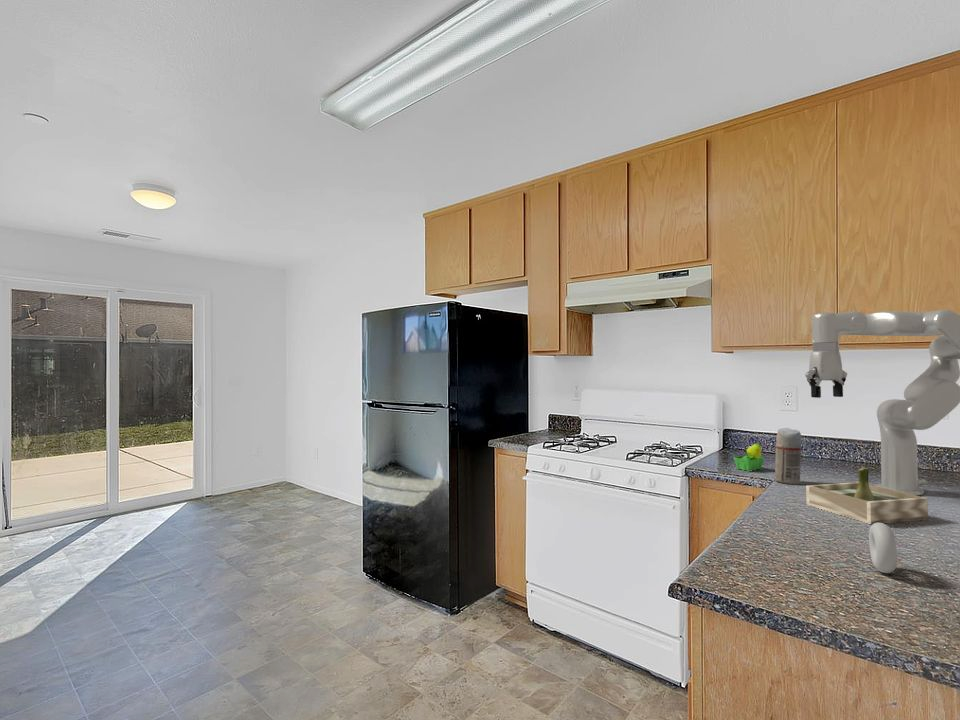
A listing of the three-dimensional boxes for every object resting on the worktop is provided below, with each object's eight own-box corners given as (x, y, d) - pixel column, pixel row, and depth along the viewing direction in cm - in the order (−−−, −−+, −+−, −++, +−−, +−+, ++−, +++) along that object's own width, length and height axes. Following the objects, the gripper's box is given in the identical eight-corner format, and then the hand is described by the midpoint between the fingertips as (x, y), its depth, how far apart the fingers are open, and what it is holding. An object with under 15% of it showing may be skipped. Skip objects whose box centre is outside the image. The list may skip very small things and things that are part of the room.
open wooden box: (858, 501, 156) (858, 482, 156) (928, 519, 137) (927, 498, 137) (806, 505, 152) (806, 485, 152) (870, 524, 132) (870, 502, 133)
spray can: (798, 480, 185) (797, 427, 186) (804, 485, 177) (803, 430, 178) (772, 479, 188) (771, 427, 188) (777, 483, 180) (777, 429, 180)
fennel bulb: (864, 505, 147) (864, 465, 148) (881, 510, 143) (880, 469, 143) (848, 506, 146) (848, 466, 147) (864, 511, 142) (863, 469, 142)
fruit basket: (748, 466, 213) (747, 440, 213) (768, 470, 205) (768, 443, 205) (732, 469, 207) (732, 442, 207) (753, 473, 199) (753, 445, 199)
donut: (867, 561, 107) (866, 515, 107) (887, 564, 105) (886, 518, 106) (877, 578, 98) (876, 528, 99) (900, 582, 97) (898, 531, 97)
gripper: (834, 348, 177) (836, 396, 177) (796, 348, 173) (797, 397, 172) (855, 347, 170) (857, 397, 169) (815, 347, 165) (817, 398, 165)
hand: (827, 397), depth 171 cm, fingers open, 9 cm apart
